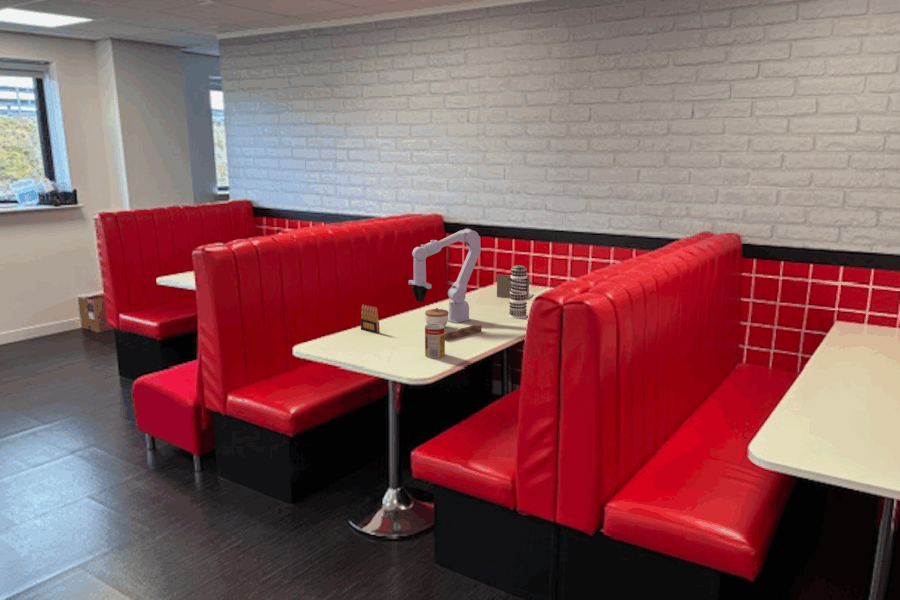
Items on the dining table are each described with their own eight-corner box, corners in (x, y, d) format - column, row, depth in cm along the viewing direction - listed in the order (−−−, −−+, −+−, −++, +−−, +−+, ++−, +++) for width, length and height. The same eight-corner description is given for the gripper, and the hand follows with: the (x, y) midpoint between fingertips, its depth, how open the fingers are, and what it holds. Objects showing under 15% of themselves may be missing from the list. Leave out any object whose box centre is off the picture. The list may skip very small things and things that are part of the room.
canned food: (444, 352, 279) (444, 323, 277) (445, 358, 272) (445, 329, 269) (425, 352, 279) (424, 324, 276) (425, 358, 271) (424, 329, 269)
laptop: (533, 295, 385) (534, 272, 382) (528, 300, 374) (529, 276, 371) (502, 293, 391) (503, 270, 388) (496, 297, 379) (497, 274, 377)
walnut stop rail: (478, 330, 312) (478, 324, 311) (481, 331, 310) (481, 325, 310) (441, 339, 297) (441, 332, 297) (445, 340, 296) (445, 333, 295)
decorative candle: (517, 319, 331) (518, 268, 326) (504, 315, 339) (505, 265, 333) (531, 316, 337) (532, 266, 331) (518, 313, 344) (519, 263, 338)
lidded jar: (452, 327, 318) (452, 307, 316) (440, 332, 309) (440, 312, 307) (433, 323, 323) (433, 304, 321) (420, 329, 314) (420, 309, 312)
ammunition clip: (379, 332, 308) (379, 306, 305) (376, 333, 306) (376, 307, 304) (363, 328, 315) (363, 303, 312) (360, 329, 313) (360, 303, 311)
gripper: (403, 271, 322) (403, 300, 325) (423, 276, 312) (423, 305, 315) (414, 270, 327) (415, 298, 330) (434, 274, 316) (435, 303, 319)
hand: (419, 301), depth 322 cm, fingers closed
